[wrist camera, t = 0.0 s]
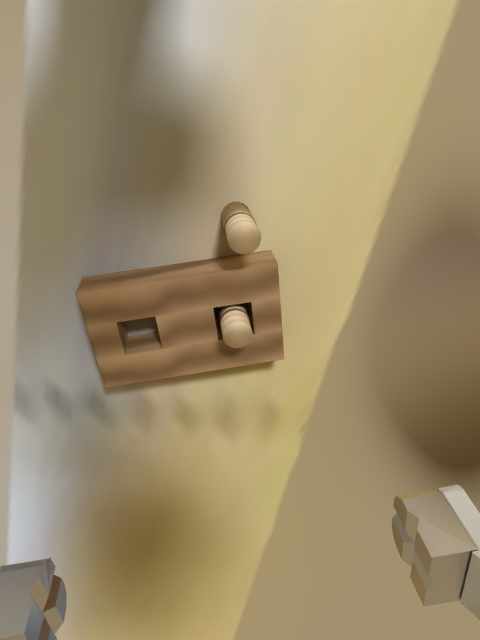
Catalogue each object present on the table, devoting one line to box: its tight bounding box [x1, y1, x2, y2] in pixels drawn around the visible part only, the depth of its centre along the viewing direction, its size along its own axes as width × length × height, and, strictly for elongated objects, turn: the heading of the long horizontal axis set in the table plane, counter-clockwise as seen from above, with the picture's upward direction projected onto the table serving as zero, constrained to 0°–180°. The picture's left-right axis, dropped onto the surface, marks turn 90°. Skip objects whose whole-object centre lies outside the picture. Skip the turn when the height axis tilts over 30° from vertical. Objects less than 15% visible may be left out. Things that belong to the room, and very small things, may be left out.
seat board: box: [76, 250, 284, 388], centre depth 60 cm, size 14×24×4 cm, turn 96°
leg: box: [221, 202, 261, 254], centre depth 53 cm, size 4×4×8 cm
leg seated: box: [218, 303, 253, 348], centre depth 59 cm, size 4×4×8 cm
